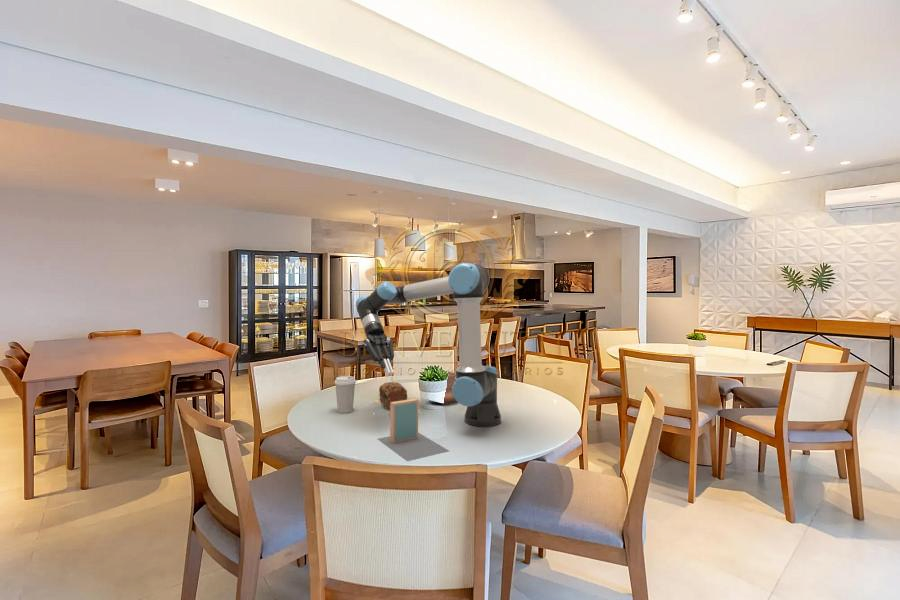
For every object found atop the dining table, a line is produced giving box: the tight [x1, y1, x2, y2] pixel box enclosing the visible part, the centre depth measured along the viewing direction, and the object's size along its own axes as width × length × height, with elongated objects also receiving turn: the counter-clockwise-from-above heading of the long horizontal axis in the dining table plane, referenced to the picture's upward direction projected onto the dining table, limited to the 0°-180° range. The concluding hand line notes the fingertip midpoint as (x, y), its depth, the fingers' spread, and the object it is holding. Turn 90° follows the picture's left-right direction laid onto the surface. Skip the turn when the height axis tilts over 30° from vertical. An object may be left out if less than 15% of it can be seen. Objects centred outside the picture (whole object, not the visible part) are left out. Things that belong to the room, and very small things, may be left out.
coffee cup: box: [333, 375, 357, 414], centre depth 193 cm, size 10×10×15 cm
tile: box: [389, 398, 419, 443], centre depth 155 cm, size 3×10×14 cm, turn 123°
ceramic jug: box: [444, 370, 457, 405], centre depth 209 cm, size 18×14×14 cm
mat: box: [377, 432, 450, 462], centre depth 151 cm, size 24×16×1 cm, turn 33°
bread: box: [378, 381, 408, 410], centre depth 204 cm, size 19×11×10 cm, turn 17°
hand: (390, 374), depth 165 cm, fingers closed
